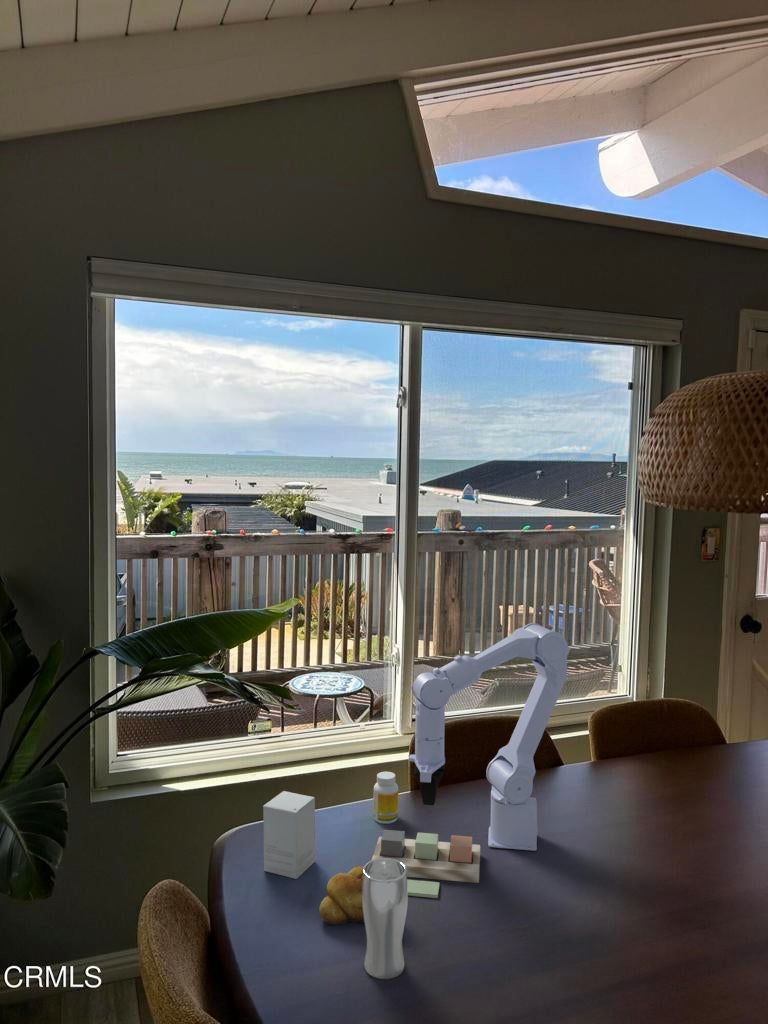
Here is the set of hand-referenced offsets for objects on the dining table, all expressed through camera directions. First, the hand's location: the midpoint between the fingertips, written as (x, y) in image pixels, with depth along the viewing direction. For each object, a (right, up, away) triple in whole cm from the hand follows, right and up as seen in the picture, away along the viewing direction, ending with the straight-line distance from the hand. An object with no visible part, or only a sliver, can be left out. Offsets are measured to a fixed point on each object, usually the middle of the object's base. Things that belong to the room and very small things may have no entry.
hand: (429, 803), depth 143 cm
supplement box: (-27, -10, -6) cm, 29 cm away
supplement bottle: (-8, -9, +14) cm, 19 cm away
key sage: (-1, -8, -5) cm, 9 cm away
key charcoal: (-7, -8, -4) cm, 11 cm away
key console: (-1, -10, -5) cm, 11 cm away
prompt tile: (-2, -10, -13) cm, 17 cm away
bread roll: (-14, -11, -20) cm, 27 cm away
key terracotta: (+6, -8, -6) cm, 11 cm away
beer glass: (-9, -11, -34) cm, 37 cm away
